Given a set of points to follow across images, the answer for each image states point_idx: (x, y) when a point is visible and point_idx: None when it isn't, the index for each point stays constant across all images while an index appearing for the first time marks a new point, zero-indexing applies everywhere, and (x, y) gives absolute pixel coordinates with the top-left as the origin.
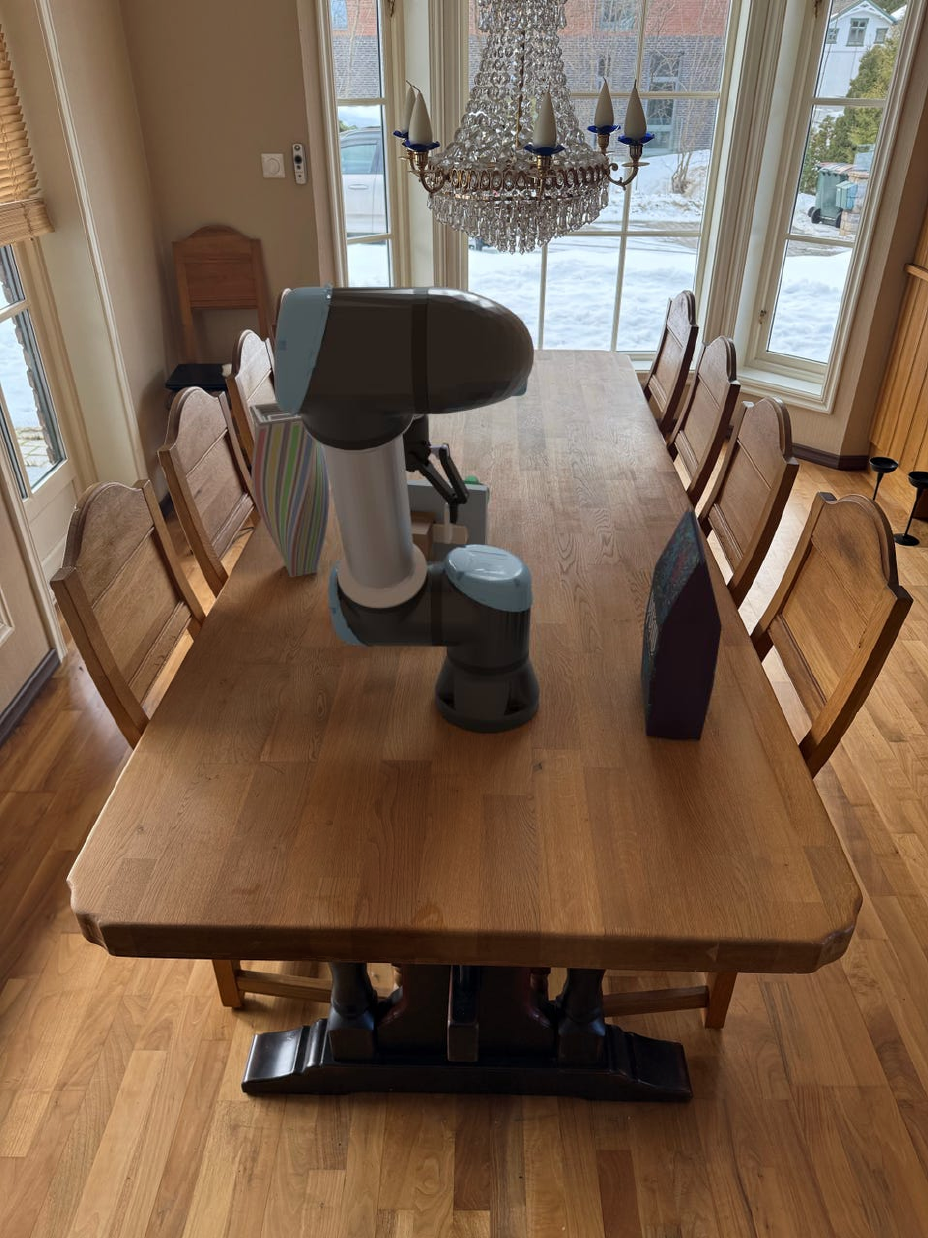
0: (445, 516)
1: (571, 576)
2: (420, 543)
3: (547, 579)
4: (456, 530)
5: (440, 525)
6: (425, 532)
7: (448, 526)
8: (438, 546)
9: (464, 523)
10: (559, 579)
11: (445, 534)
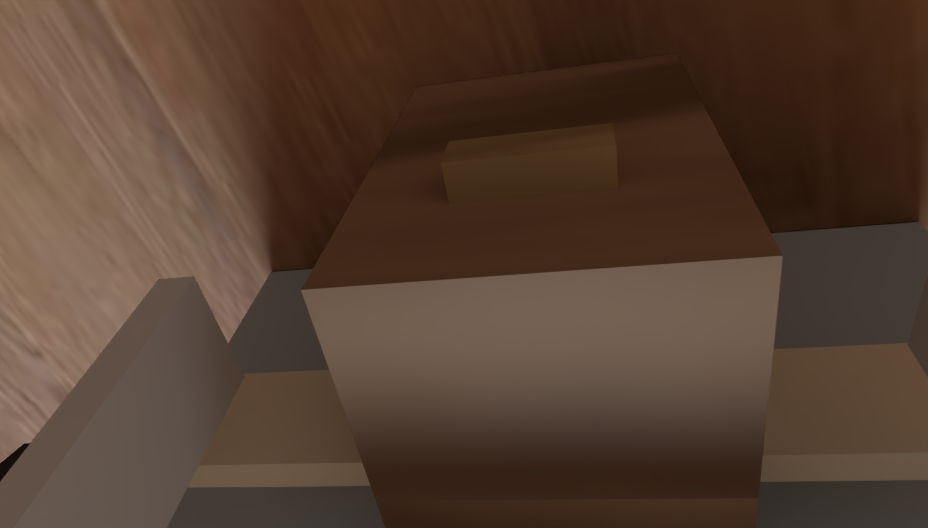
0: (18, 497)
1: (31, 381)
2: (385, 229)
3: (85, 349)
4: (237, 448)
5: (351, 474)
6: (321, 321)
7: (68, 401)
8: None
9: (244, 520)
10: (50, 357)
11: (142, 333)
